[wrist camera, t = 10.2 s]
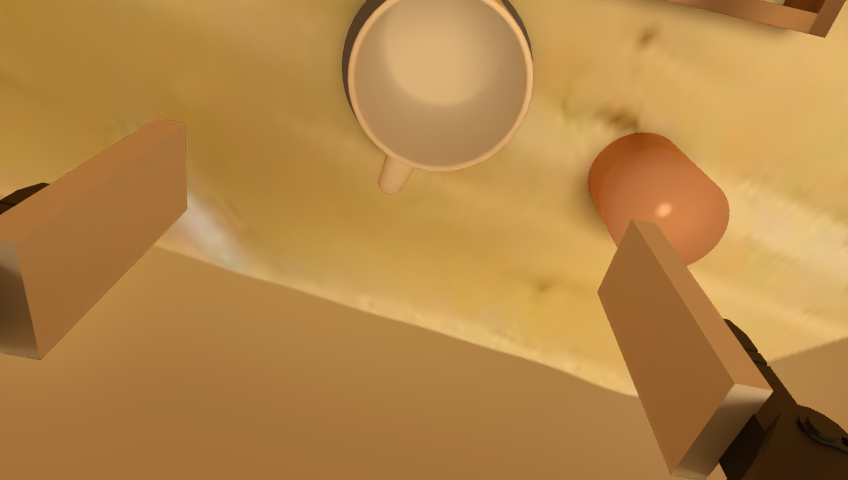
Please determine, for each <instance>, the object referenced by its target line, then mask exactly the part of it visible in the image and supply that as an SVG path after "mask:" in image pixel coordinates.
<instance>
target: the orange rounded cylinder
mask: <svg viewBox="0 0 848 480" xmlns="http://www.w3.org/2000/svg"><path fill="white" fill-rule="evenodd" d="M588 186H589V192H590V195H591V197H592V199H593V201H594V203H595V205H596V207H597V209H598V211H599V213H600V215H601V217H602V219H603V221H604V223H605V225H606V226H607V228H608V230H609V232H610V234H611V236H612V238H613V240H614V242H615V244H616V246H617V248H618V246H619V244H620V242H621V240H622V238H623V236H624V234H625V231H626V229H627V227H628V225H629V223H630V221H631V218H632V219H637V220H642V221H646V222H651V223H656V224H657V225H658V227H659V228H660V230H661V231H662V233H663V234H664V235H665V237H666V238H667V240H668V241H669V243H670V244H671V245H672V247H673V248H674V250H675V251H676V253H677V254H678V255H679V257H680V258H681V260H682V261H683V263H684V264H685V265H686V266H687V265H690V264H692V263H694V262H696V261H698V260H699V259H701V258H702V257H704V256H705V255H706V254H708V253H709V252H710V251H711V250H712V249H713V248H714V247H715V246H716V245H717V244H718V242H719V241H720V239H721V238H722V236H723V235H724V232H725V230H726V228H727V225H728V221H729V204H728V201H727V198H726V196H725V194H724V193H723V191H722V190H721V189H720V188H719V187H718V186H717V185H716V184H715V183H714V182H713V181H712V180H711V179H710V178H709V177H708V176H707V175H706V174H705V173H704V172H703V171H702V170H701V169H700V168H698V167H697V166H696V165H695V164H694V163H693V162H692V161H691V160H690V159H689V158H688V157H687V156H686V155H685V154H684V153H683V152H682V151H681V150H680V149H679V148H677V147H676V146H675V145H674V144H673V143H672V142H671V141H670V140H668V139H667V138H665V137H663V136H660V135H657V134H653V133H635V134H630V135H627V136H624V137H622V138H619V139H617V140H616V141H614V142H612V143H611V144H609V145H608V146H607V147H606V148H605V149H604V150H603V151H602V152H601V153H600V154H599V155H598V156H597V158H596V159H595V161H594V163H593V165H592V167H591V170H590V173H589V178H588Z"/></svg>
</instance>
